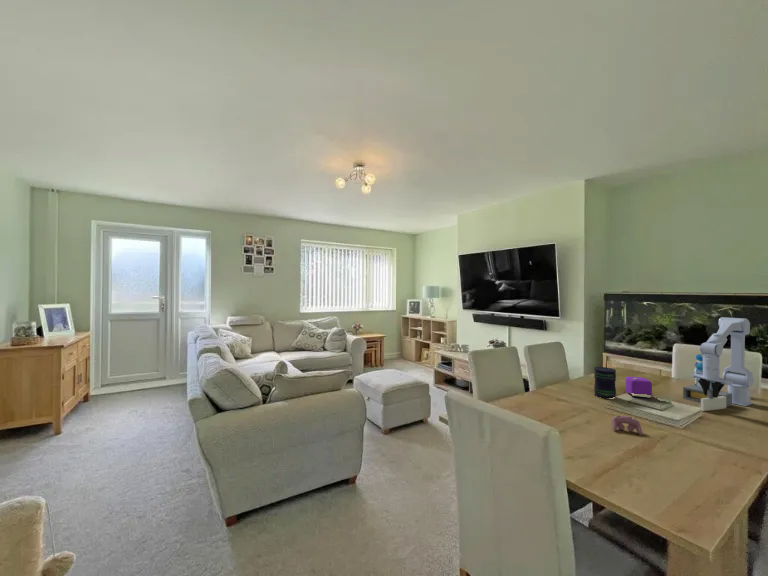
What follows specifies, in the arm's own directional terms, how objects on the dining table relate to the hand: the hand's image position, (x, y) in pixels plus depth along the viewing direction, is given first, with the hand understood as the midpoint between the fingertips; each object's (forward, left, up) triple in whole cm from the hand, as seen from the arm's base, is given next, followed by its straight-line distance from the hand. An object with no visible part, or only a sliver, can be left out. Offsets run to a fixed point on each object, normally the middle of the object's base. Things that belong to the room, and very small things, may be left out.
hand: (711, 396), depth 158 cm
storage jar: (+25, -35, -7) cm, 43 cm away
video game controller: (+63, -5, -7) cm, 63 cm away
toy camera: (+6, -29, -7) cm, 30 cm away
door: (-2, 0, -6) cm, 7 cm away
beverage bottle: (-40, -17, -7) cm, 44 cm away
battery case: (-15, -7, -7) cm, 18 cm away
